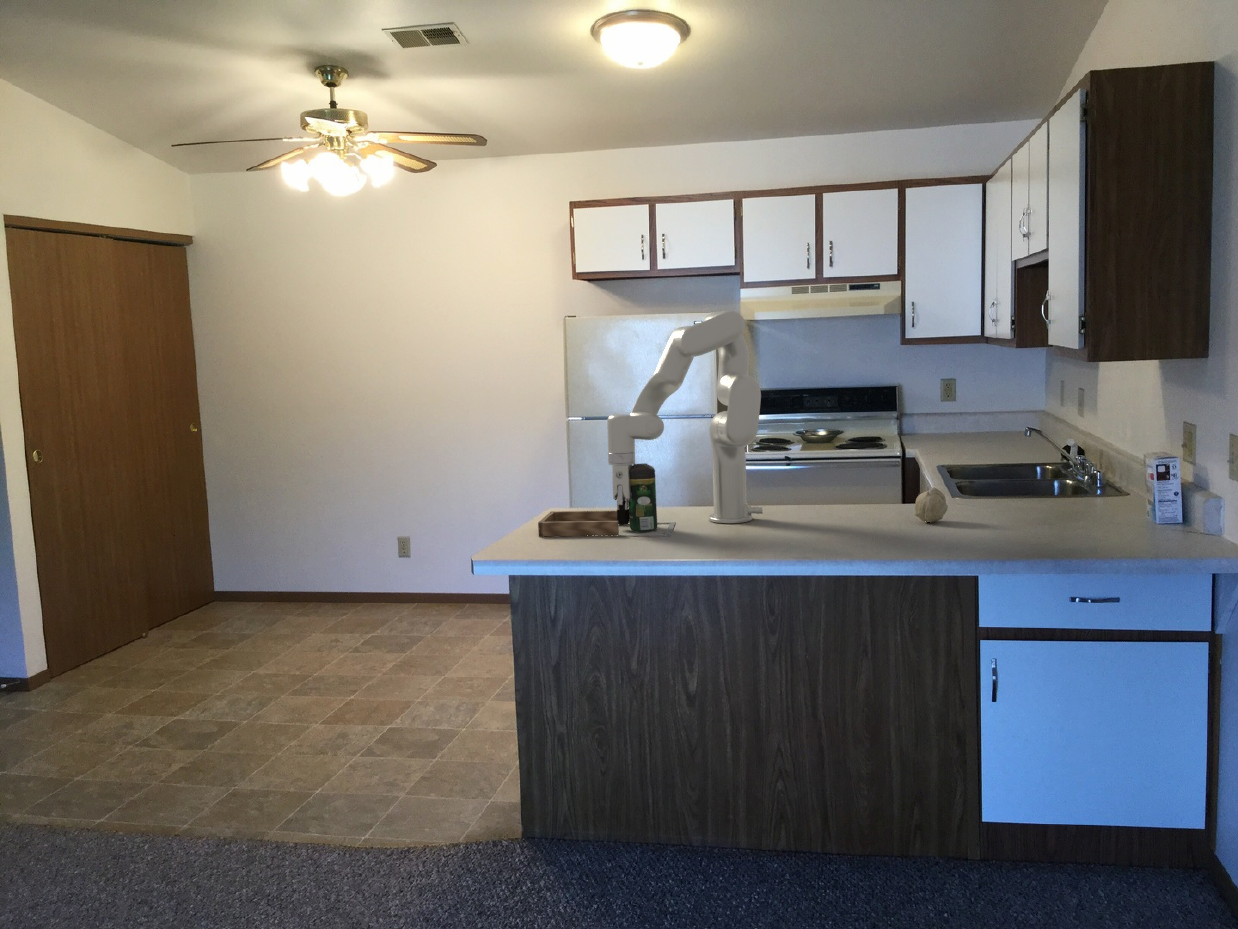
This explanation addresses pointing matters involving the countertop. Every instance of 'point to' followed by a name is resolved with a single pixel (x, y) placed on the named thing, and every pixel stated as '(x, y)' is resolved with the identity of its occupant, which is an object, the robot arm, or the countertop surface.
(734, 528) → the countertop surface
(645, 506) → the coffee jar
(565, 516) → the wooden u-shaped frame
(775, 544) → the countertop surface
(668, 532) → the grey bay
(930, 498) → the garlic bulb
